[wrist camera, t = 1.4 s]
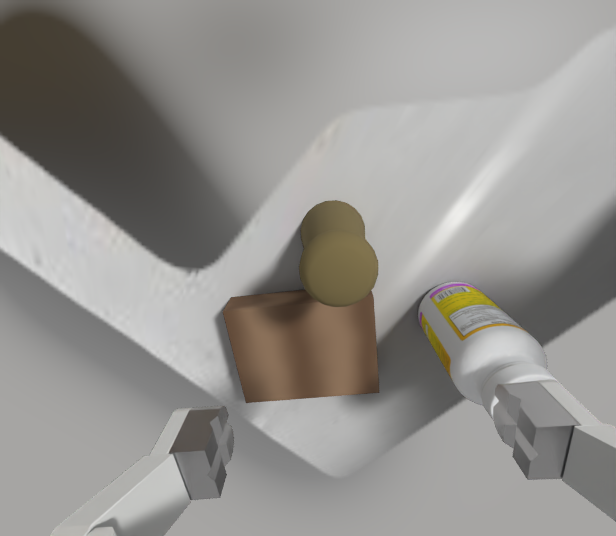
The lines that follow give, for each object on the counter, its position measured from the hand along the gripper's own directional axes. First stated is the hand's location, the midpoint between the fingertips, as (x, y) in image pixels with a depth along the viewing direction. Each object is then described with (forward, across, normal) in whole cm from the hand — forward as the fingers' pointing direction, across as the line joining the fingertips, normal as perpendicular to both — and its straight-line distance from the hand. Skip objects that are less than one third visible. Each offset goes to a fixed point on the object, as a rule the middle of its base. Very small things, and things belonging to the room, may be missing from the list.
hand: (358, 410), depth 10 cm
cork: (+22, 0, 0) cm, 22 cm away
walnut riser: (+22, +4, +11) cm, 24 cm away
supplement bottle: (+22, -11, +9) cm, 26 cm away
